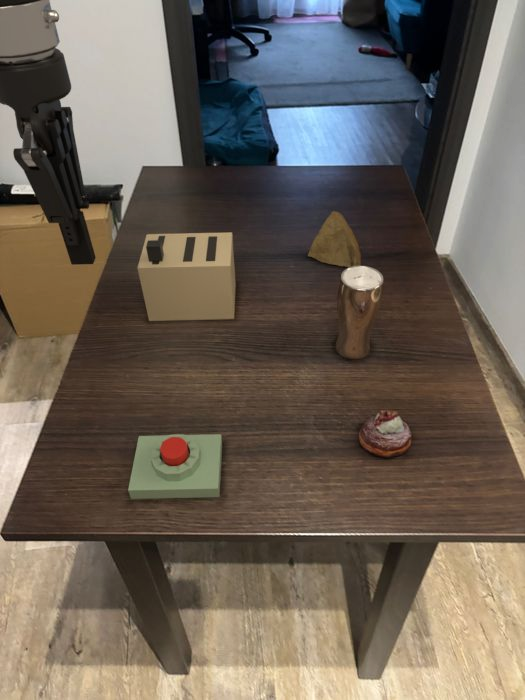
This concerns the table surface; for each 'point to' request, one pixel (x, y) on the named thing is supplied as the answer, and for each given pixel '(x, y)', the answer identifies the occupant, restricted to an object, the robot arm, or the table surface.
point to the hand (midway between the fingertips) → (83, 260)
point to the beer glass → (357, 310)
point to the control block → (177, 469)
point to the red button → (174, 451)
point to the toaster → (189, 277)
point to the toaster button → (155, 250)
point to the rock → (336, 243)
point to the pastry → (385, 435)
